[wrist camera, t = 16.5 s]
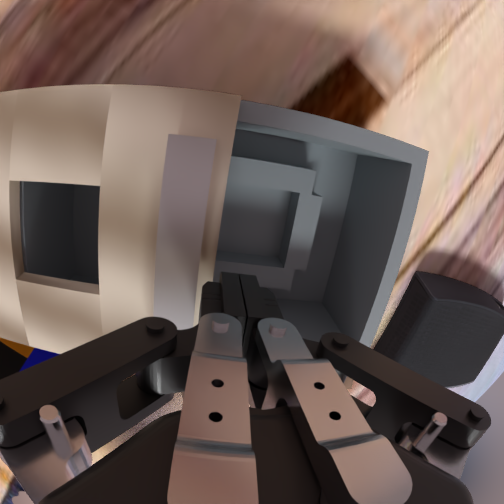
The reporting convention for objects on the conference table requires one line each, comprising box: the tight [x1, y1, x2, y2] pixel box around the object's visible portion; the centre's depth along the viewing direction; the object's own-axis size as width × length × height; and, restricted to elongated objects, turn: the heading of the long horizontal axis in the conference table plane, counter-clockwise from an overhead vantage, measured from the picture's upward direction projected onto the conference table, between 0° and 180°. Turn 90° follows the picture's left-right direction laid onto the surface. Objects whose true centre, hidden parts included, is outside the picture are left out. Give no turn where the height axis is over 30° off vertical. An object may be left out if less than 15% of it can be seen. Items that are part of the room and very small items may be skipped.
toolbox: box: [20, 100, 429, 348], centre depth 18 cm, size 14×22×8 cm, turn 80°
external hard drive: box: [374, 271, 504, 388], centre depth 29 cm, size 13×19×4 cm
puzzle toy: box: [0, 337, 60, 380], centre depth 20 cm, size 10×10×10 cm
